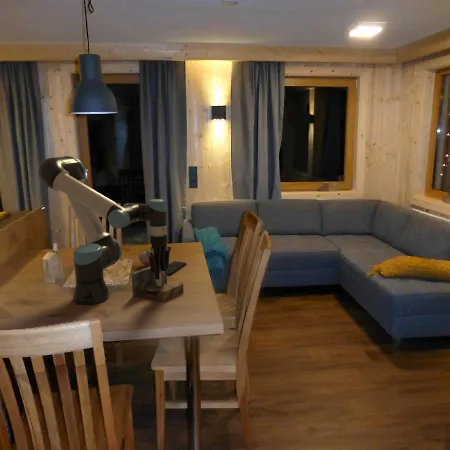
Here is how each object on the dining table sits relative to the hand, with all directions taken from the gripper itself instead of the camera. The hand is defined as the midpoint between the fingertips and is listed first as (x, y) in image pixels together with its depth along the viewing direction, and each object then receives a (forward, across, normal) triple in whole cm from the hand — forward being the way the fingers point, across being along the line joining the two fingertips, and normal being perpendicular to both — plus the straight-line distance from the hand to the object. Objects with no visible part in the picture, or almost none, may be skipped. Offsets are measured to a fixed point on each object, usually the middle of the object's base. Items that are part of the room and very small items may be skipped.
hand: (160, 284), depth 188 cm
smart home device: (+5, +28, +19) cm, 35 cm away
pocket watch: (+1, -2, 0) cm, 3 cm away
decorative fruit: (+4, +25, +34) cm, 42 cm away
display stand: (+4, 0, 0) cm, 4 cm away
